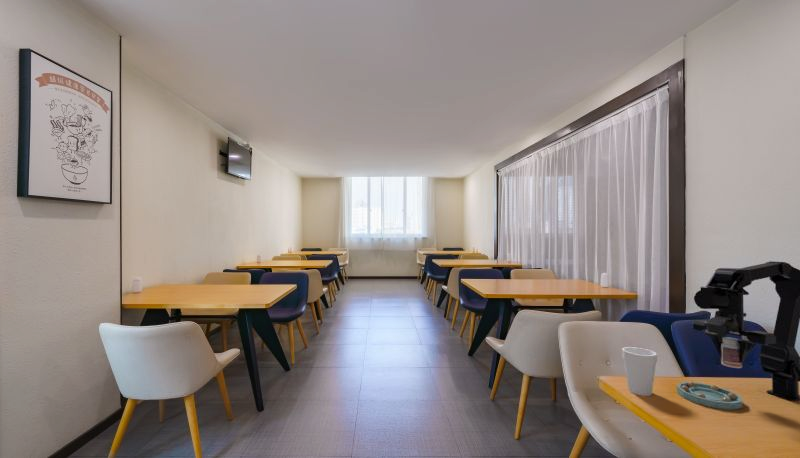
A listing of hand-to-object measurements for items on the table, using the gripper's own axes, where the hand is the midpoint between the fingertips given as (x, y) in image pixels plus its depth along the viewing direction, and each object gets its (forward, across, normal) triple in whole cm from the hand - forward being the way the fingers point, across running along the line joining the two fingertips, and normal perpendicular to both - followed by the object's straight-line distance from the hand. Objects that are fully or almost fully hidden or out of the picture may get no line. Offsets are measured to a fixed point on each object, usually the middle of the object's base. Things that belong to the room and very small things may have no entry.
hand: (731, 359), depth 108 cm
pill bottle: (+2, 0, 0) cm, 2 cm away
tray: (+13, -3, -6) cm, 14 cm away
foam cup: (+13, -13, -22) cm, 29 cm away
